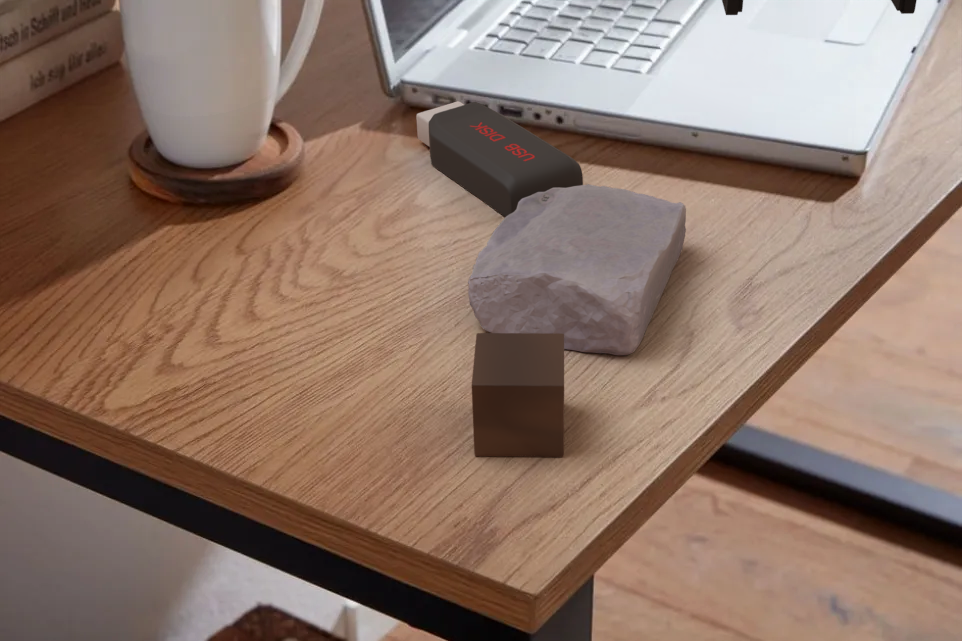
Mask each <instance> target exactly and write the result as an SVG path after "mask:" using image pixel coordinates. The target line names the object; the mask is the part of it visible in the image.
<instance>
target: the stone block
mask: <svg viewBox="0 0 962 641" xmlns="http://www.w3.org/2000/svg"><path fill="white" fill-rule="evenodd" d="M686 220H687V207H686V205H685V204H684V203H682V202H681V201H679V202H672V201H669V200H667V199H662V198H659V197H655V196H654V195H649V194H646V193H637V192H634V191H633V190H632V191H631V190H628V189H626V188H618V187H610V186H606V185H601V186H599V185H594V184H589V183H587V184H583V185H580V186H573V187H568V188H560V187H558V188H551V189H549V190H547V191H546V192H537V193H535V194H533V195H531V196H528V197H525V198H523V199H521V200H520V201H519V202H518V206H517V209H516V210H515V211H514V212H513V213H511V214H509V215H508V216H506V217H505V216H504V219H502V221H501V222H500V223H499V224H498V225H497V226H496V227H495V229H494V230H493V232H492V234H491V235H490V237H489V239H488V241H487V242H486V245H485V246H484V247H483V248H482V249H481V251H479V252H478V255H477V257H476V258H475V259H476V260H475V264H473V265H472V271H471V274H470V276H469V278H468V282H467V284H468V286H467V287H468V290H467V291H468V292H467V294H468V300H469V305H470V307H471V310H472V312H473V314H474V317H475V319H476V320H477V321H478V322H479V326H480V327H481V328H482V329H483V330H484V331H486V332H488V333H563V334H564V350H569V351H576V352H581V353H594V354H609V355H615V356H628V355H630V354H633V353H634V352H635V351H636V350H637V348H638V347H639V346H640V344H641V342H642V340H643V338H644V336H645V333H646V331H647V329H648V326H649V325H650V322H651V320H652V318H653V315H654V313H655V311H656V309H657V307H658V304H659V302H660V300H661V298H662V295H663V293H664V291H665V289H666V287H667V285H668V282H669V280H670V277H671V274H672V273H673V270H674V268H675V266H676V265H677V263H678V260H679V258H680V256H681V253H682V252H683V249H684V243H685V239H686V238H685V237H686V231H687V228H686V222H687V221H686Z"/></svg>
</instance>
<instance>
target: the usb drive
mask: <svg viewBox="0 0 962 641" xmlns="http://www.w3.org/2000/svg"><path fill="white" fill-rule="evenodd" d="M415 118H416V131H417V132H416V134H417V140H419V141H420V142H422V143H423V144H424V145H426V146H427V147H429V158H430V163H431V166H433V167H434V168H435V169H437V170H438V171H439V172H441V173H442V174H443V175H444V176H446V177H448V178H449V179H451V180H452V181H453V182H454V183H456V184H458V185H459V186H460V187H462V188H463V189H464V190H466V191H468V192H469V193H470V194H472V195H473V196H475V197H476V198H478V199H479V200H480V201H482V202H483V203H484V204H486V205H487V206H489V207H491V208H492V209H493V210H494V211H496V212H498V213H499V214H501V215H502V216H503V217H504V218H505V217H506V216H508V215H509V214H511V213H513V212H514V211H515V210H516V209H517V206H518V202H519V201H520V200H521V199H523V198H525V197H528V196H531V195H533V194H535V193H537V192H546V191H547V190H549V189H551V188H558V187H560V188H568V187H573V186H580V185H584V177H583V170H582V167H581V165H580V164H579V162H577V160H575V158H573V157H571V156H570V155H568V154H567V153H565V151H564V152H563V151H562V150H560V149H558V148H557V147H555V146H553V145H552V144H551V143H549V142H548V141H546V140H544V139H543V138H540V137H539V136H537V135H535V134H534V133H533V132H531V131H530V130H528V129H526V128H524V127H523V126H521V125H519V123H516V122H515V121H513V120H512V119H510V118H508V117H507V116H505V115H503V114H502V113H501V112H500V113H499V112H498V111H496V110H494V109H492V108H490V107H488V106H486V105H484V104H482V103H479V102H477V101H473V102H469V103H465V104H464V103H462V102H461V101H459V100H457V101H455V102H451V103H448V104H444V105H441V106H438V107H435V108H434V107H433V108H431V109H428V110H424V111H421V112H418V113H416V116H415Z"/></svg>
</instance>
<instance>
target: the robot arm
mask: <svg viewBox="0 0 962 641" xmlns="http://www.w3.org/2000/svg"><path fill="white" fill-rule="evenodd" d="M721 1H722V6H723V9H724V13H725V16H738V15H739V13H743V7H744V0H721ZM917 1H918V0H890V2H891V3H892V4H893V6H894V8H895V10H896V11H897V12H900V14H903V15H905V14H908V15H909V14H910V15H913V14H914V13H915V12H916V6H917Z"/></svg>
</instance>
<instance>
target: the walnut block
mask: <svg viewBox="0 0 962 641" xmlns="http://www.w3.org/2000/svg"><path fill="white" fill-rule="evenodd" d="M474 344H475V345H474V355H473V366H472V376H471V377H472V378H471V405H472V406H471V407H472V429H473V433H472V434H473V452H474V453H473V455H474V456H475V457H531V458H532V457H535V458H537V457H539V458H543V457H544V458H547V457H548V458H563V457H564V456H565V349H564V334H563V333H491V332H477V333H476V336H475V343H474Z"/></svg>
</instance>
